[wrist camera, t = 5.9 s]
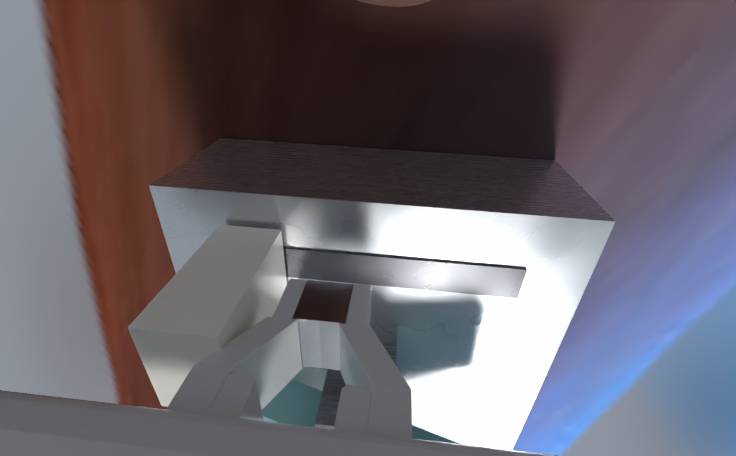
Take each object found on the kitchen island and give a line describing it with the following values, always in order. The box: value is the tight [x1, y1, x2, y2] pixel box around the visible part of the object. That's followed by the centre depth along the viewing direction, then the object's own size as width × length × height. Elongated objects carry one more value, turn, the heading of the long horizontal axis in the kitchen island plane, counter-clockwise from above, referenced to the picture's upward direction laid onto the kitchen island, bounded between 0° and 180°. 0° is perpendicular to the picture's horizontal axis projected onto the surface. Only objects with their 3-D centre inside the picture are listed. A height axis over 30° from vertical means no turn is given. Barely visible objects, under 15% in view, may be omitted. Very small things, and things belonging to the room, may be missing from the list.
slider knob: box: [128, 225, 287, 407], centre depth 10 cm, size 3×2×4 cm
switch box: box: [149, 138, 615, 450], centre depth 17 cm, size 22×14×8 cm, turn 178°
